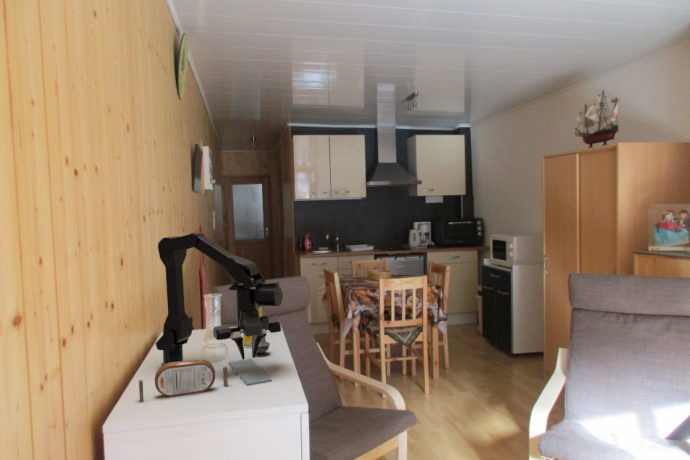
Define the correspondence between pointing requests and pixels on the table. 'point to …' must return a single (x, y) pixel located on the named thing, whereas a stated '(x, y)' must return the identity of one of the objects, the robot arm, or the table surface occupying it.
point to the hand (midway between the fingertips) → (248, 358)
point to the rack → (225, 379)
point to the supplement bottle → (247, 341)
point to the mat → (250, 372)
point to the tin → (184, 377)
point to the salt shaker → (262, 348)
